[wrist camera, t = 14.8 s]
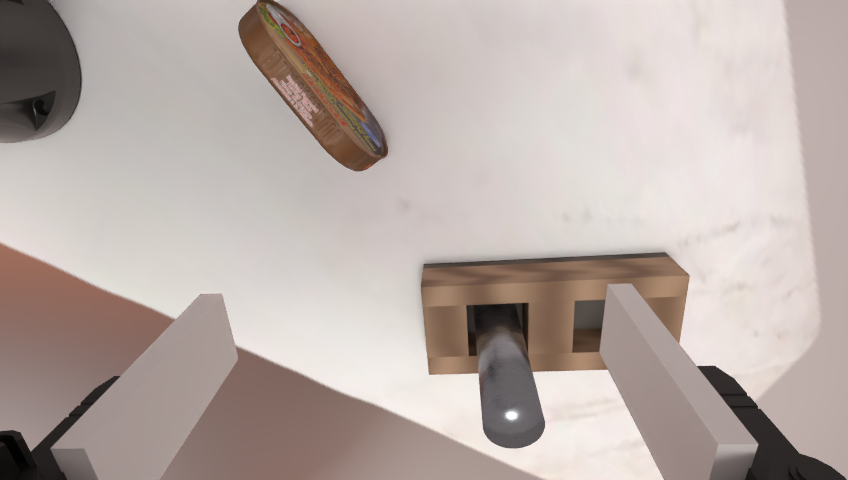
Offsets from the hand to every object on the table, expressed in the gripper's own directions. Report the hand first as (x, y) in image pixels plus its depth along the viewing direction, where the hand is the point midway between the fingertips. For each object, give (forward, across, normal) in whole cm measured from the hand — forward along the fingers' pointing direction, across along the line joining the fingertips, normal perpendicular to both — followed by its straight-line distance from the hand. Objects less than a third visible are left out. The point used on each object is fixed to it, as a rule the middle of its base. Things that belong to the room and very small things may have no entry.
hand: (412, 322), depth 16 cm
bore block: (+29, +11, -17) cm, 35 cm away
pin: (+28, +6, -17) cm, 33 cm away
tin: (+30, -9, +6) cm, 32 cm away
